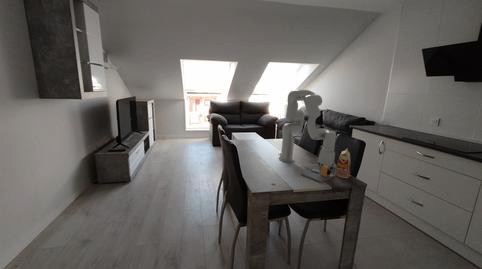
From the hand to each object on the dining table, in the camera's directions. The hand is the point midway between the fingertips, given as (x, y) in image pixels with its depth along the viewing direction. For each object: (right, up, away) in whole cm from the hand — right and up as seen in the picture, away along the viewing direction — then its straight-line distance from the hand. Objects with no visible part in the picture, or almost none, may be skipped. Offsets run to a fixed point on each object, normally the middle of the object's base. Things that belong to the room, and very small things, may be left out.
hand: (324, 173), depth 161 cm
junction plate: (-4, -2, +2) cm, 5 cm away
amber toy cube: (0, -1, 0) cm, 1 cm away
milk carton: (+15, -3, +5) cm, 16 cm away
